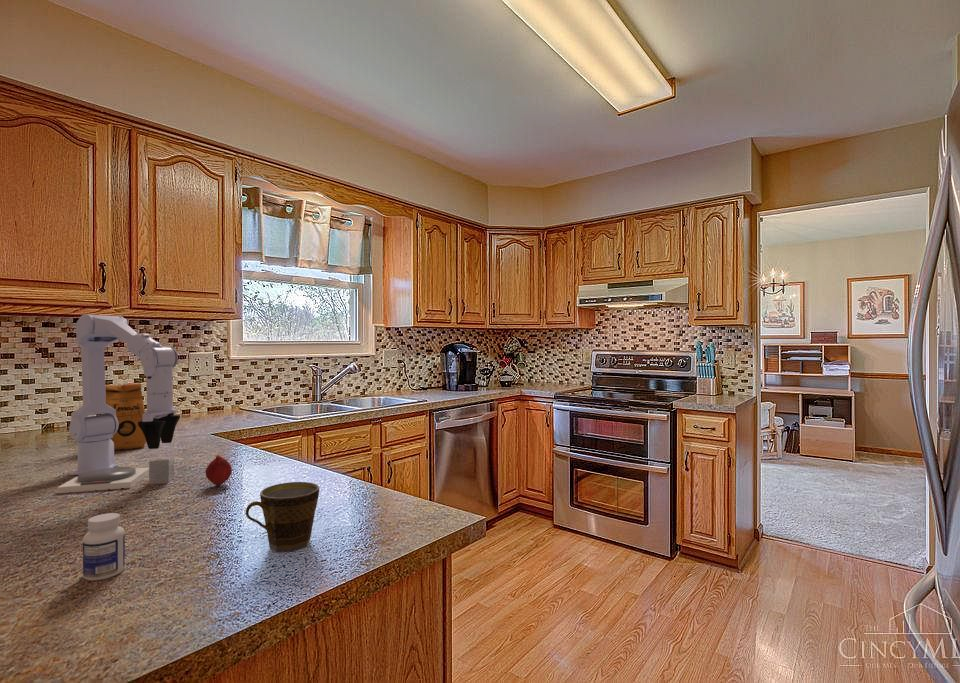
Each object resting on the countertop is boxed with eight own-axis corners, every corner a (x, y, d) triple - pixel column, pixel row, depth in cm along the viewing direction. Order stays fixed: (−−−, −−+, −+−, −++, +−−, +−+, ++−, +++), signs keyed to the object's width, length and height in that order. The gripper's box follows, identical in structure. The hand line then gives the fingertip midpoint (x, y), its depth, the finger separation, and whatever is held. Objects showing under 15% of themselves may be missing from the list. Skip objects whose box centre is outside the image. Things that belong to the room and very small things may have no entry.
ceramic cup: (300, 530, 96) (300, 478, 96) (330, 543, 89) (330, 488, 89) (232, 551, 86) (232, 494, 86) (260, 568, 79) (260, 506, 79)
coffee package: (148, 448, 168) (148, 384, 168) (102, 453, 160) (102, 386, 160) (144, 443, 176) (145, 382, 176) (101, 448, 168) (101, 384, 168)
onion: (236, 483, 127) (236, 452, 127) (222, 489, 122) (222, 457, 122) (215, 482, 128) (215, 451, 128) (200, 488, 122) (200, 456, 122)
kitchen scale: (85, 477, 132) (85, 467, 132) (150, 472, 137) (150, 463, 137) (57, 493, 118) (57, 483, 118) (130, 487, 123) (130, 477, 123)
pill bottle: (98, 566, 80) (98, 511, 80) (132, 565, 80) (132, 510, 80) (73, 582, 75) (74, 523, 75) (110, 581, 75) (110, 522, 75)
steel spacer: (154, 480, 130) (154, 457, 130) (173, 478, 131) (173, 456, 131) (149, 484, 126) (149, 461, 126) (168, 483, 127) (168, 459, 127)
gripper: (164, 395, 121) (165, 450, 121) (187, 390, 136) (188, 439, 135) (132, 396, 120) (133, 452, 120) (159, 391, 134) (159, 441, 134)
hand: (160, 445), depth 128 cm, fingers open, 7 cm apart
